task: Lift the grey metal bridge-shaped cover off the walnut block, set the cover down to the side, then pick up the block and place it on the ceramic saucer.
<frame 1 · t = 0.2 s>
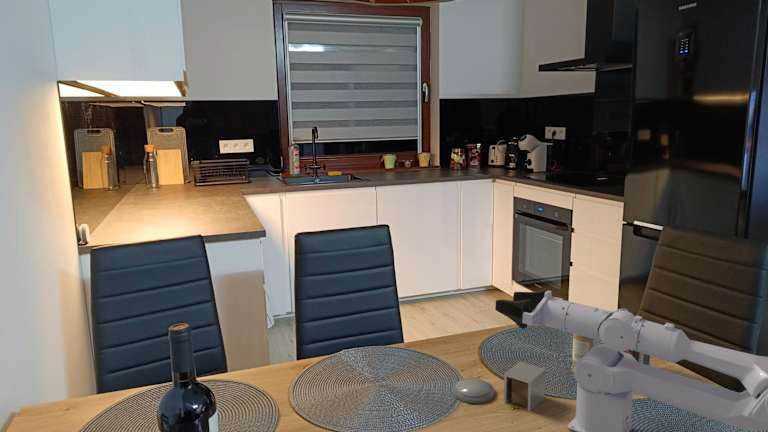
hand: (505, 300, 111), 21 cm above the table, tool horizontal, fingers open, 7 cm apart
sprinkles bottle: (581, 373, 124), on the table
supplement bottle: (634, 370, 125), on the table
block: (524, 400, 113), on the table
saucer: (472, 392, 116), on the table
cover: (524, 400, 113), on the table
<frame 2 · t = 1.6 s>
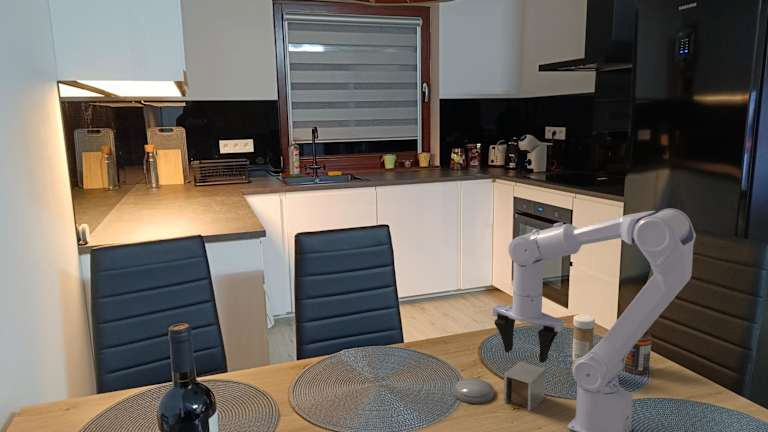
hand: (525, 355, 111), 10 cm above the table, tool pointing down, fingers open, 7 cm apart
nothing on the table moved.
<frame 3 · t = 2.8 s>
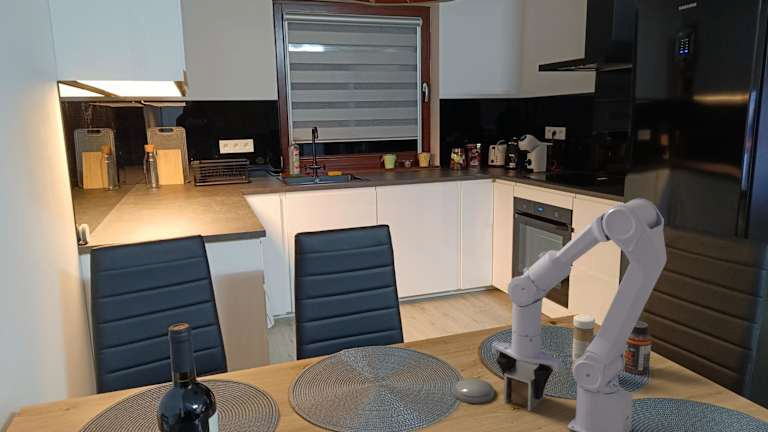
hand: (524, 392, 112), 2 cm above the table, tool pointing down, fingers closed on cover, 6 cm apart
cover: (524, 399, 113), on the table, touching gripper
everything else where it was.
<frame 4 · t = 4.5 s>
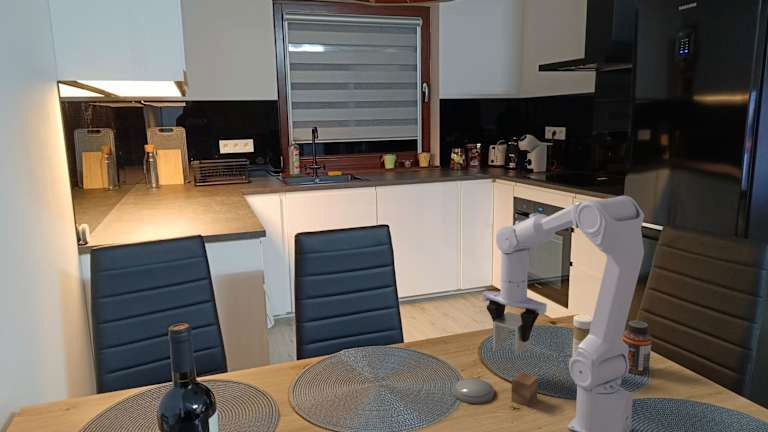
hand: (512, 337, 121), 9 cm above the table, tool pointing down, fingers closed on cover, 6 cm apart
cover: (512, 346, 121), point 7 cm above the table, touching gripper
everything else where it was.
when the fingers open (3 cm above the table, at t = 6.2 s): cover stays where it is, on the table.
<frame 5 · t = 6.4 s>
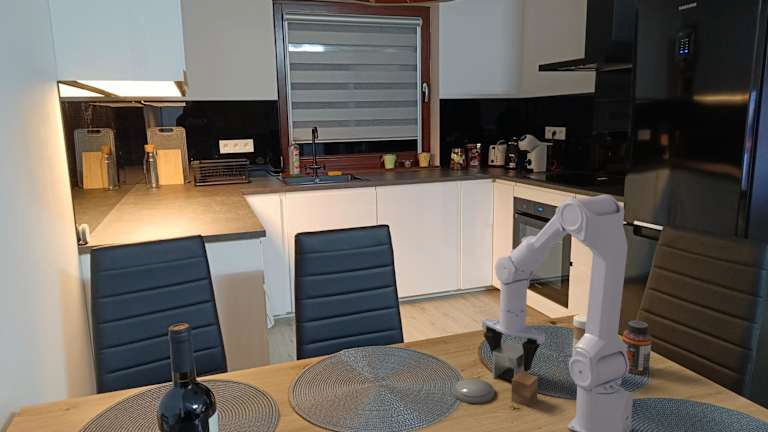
hand: (511, 364, 122), 3 cm above the table, tool pointing down, fingers open, 7 cm apart
cover: (511, 375, 123), on the table
everything else where it was.
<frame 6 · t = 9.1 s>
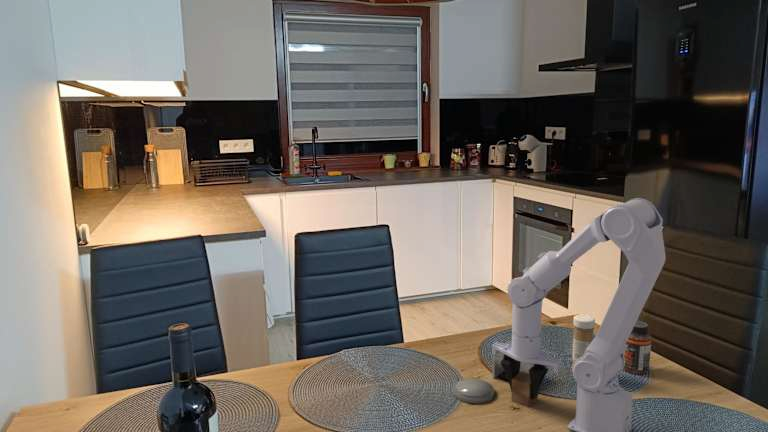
hand: (524, 393, 112), 1 cm above the table, tool pointing down, fingers closed on block, 4 cm apart
block: (524, 399, 113), on the table, touching gripper
everything else where it was.
when the fingers open (4 cm above the table, at t = 11.6 s): block drops 1 cm, resting on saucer.
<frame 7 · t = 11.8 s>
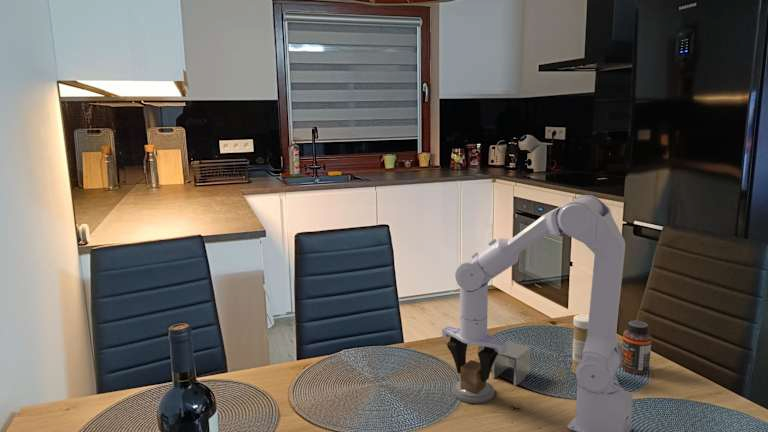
hand: (473, 375, 115), 4 cm above the table, tool pointing down, fingers open, 5 cm apart
block: (473, 387, 116), point 1 cm above the table, touching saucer
everything else where it was.
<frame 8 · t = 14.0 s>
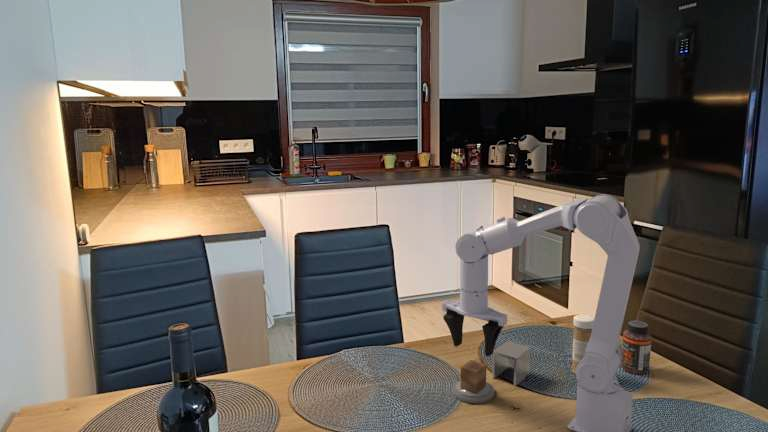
hand: (473, 349, 114), 10 cm above the table, tool pointing down, fingers open, 7 cm apart
nothing on the table moved.
at the end: block 0.1 cm from the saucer (horizontally); block inside the target area on the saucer (0.1 cm from its centre), point 1.2 cm above the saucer's base; cover moved 10.5 cm from its start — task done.
